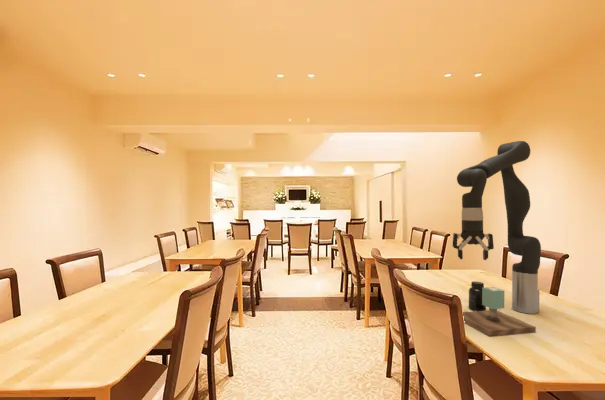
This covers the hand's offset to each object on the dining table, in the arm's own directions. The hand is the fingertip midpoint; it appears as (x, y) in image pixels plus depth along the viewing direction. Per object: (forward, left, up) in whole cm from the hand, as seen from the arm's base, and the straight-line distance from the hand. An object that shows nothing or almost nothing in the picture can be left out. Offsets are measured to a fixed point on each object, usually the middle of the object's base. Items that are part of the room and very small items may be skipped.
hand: (472, 259), depth 123 cm
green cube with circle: (-6, +4, -18) cm, 19 cm away
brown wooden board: (-6, +4, -25) cm, 26 cm away
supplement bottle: (-13, -12, -25) cm, 31 cm away
